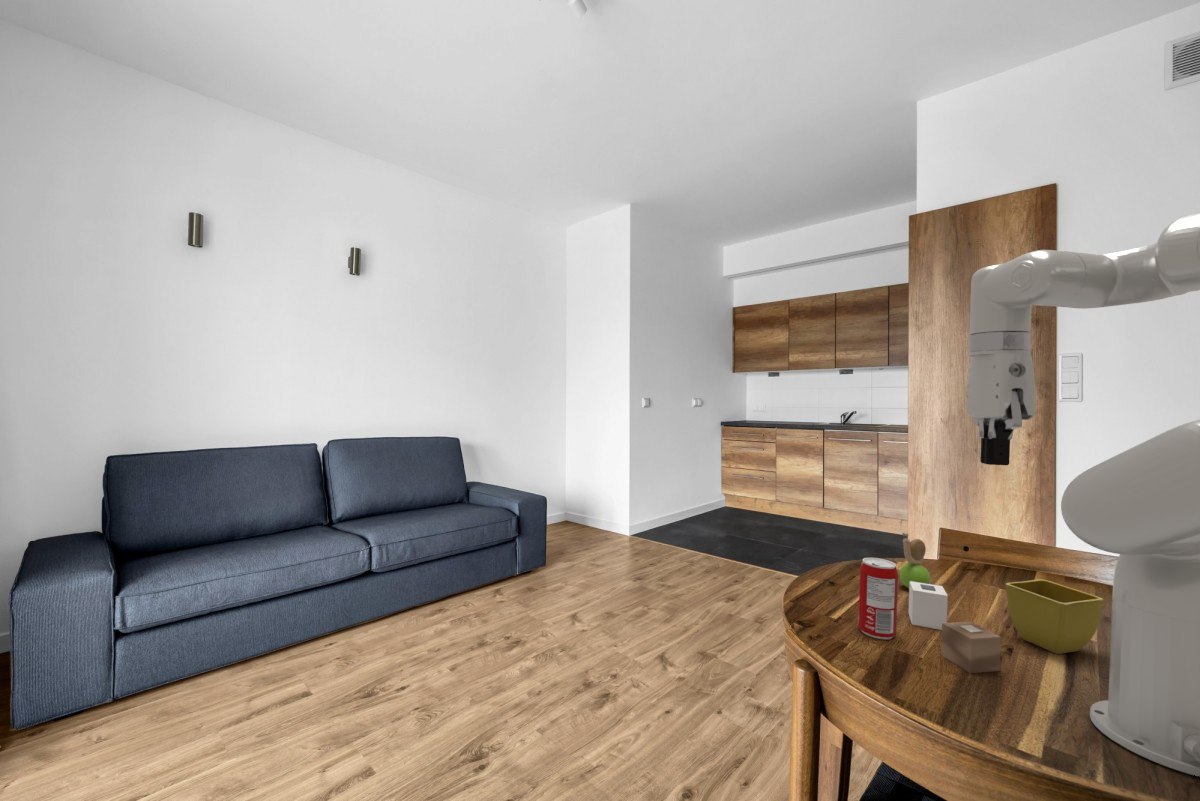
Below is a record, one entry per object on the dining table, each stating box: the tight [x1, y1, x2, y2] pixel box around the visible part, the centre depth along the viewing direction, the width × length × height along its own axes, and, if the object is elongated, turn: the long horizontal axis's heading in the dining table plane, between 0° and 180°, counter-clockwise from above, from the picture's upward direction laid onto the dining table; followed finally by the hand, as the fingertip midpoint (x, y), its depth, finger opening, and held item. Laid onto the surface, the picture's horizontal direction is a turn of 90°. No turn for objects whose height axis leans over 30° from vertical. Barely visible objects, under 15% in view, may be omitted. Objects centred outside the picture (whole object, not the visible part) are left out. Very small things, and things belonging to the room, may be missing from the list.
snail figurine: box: [898, 532, 932, 589], centre depth 104 cm, size 5×6×12 cm
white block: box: [908, 581, 949, 631], centre depth 89 cm, size 5×5×6 cm
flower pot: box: [1005, 578, 1104, 655], centre depth 81 cm, size 9×9×9 cm
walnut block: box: [940, 621, 1002, 674], centre depth 75 cm, size 5×5×5 cm
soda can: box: [857, 557, 899, 641], centre depth 84 cm, size 6×6×12 cm
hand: (994, 464), depth 79 cm, fingers closed
